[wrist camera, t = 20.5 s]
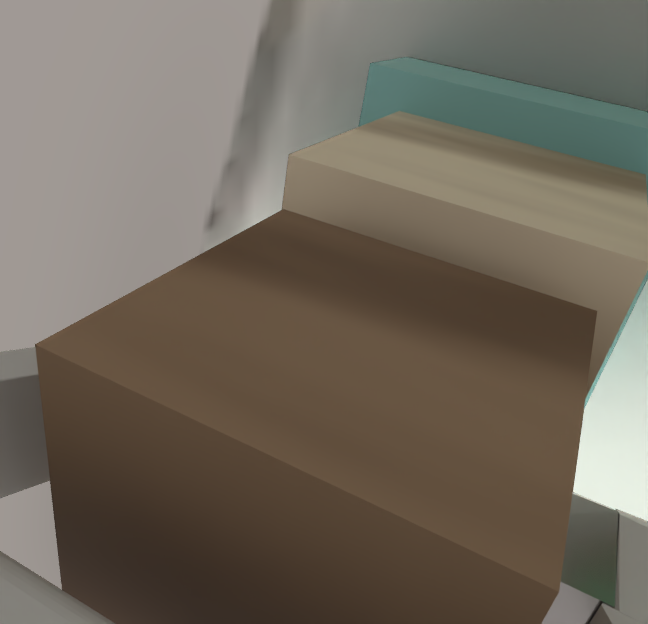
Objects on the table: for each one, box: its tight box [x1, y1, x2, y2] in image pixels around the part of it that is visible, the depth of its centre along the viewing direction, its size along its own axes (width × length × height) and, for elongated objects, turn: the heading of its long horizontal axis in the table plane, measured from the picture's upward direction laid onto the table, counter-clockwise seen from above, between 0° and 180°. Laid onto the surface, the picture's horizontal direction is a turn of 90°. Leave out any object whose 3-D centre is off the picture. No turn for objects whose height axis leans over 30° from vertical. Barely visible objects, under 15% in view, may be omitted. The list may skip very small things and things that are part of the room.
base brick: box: [359, 57, 648, 408], centre depth 17 cm, size 8×8×3 cm
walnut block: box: [35, 209, 597, 624], centre depth 8 cm, size 5×5×5 cm
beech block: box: [282, 111, 648, 399], centre depth 13 cm, size 6×6×6 cm
